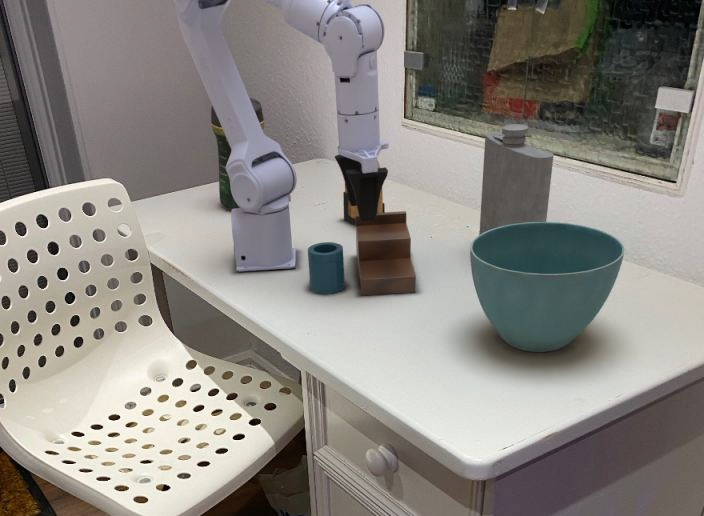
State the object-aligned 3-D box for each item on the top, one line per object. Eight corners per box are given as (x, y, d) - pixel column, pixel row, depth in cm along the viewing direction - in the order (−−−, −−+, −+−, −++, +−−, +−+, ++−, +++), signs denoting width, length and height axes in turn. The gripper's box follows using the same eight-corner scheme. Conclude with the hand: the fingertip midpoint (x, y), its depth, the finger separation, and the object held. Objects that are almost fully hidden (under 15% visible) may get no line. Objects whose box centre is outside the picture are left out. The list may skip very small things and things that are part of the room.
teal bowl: (439, 327, 111) (442, 238, 103) (550, 298, 116) (561, 211, 109) (517, 384, 98) (527, 286, 90) (639, 349, 103) (658, 253, 95)
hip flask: (544, 279, 122) (560, 135, 110) (520, 283, 121) (533, 140, 109) (492, 245, 134) (501, 112, 122) (470, 249, 133) (477, 116, 121)
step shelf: (361, 295, 121) (360, 249, 117) (356, 257, 133) (355, 214, 129) (415, 292, 121) (416, 245, 116) (405, 254, 133) (405, 211, 129)
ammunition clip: (385, 233, 141) (385, 160, 134) (376, 236, 140) (375, 162, 133) (352, 218, 149) (349, 148, 141) (343, 220, 148) (340, 150, 141)
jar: (310, 295, 122) (307, 255, 119) (310, 281, 126) (307, 243, 123) (345, 293, 122) (343, 253, 118) (343, 279, 126) (342, 241, 122)
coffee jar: (231, 214, 154) (217, 107, 143) (216, 204, 160) (202, 100, 148) (277, 205, 157) (268, 99, 146) (261, 194, 163) (251, 92, 152)
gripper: (398, 117, 105) (401, 223, 113) (375, 97, 117) (379, 195, 125) (345, 124, 105) (351, 230, 113) (327, 103, 116) (333, 201, 124)
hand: (362, 212), depth 119 cm, fingers open, 7 cm apart
